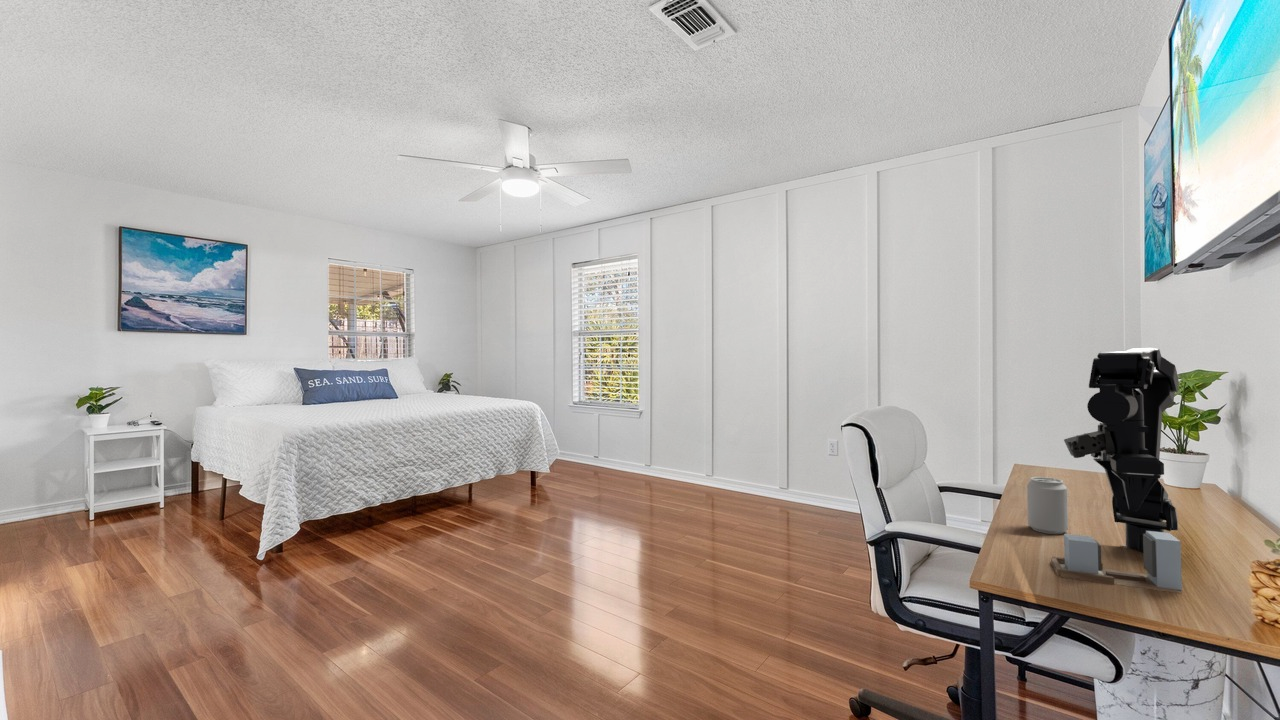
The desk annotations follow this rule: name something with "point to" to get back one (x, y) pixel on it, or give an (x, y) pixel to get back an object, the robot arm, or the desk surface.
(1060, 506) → the can
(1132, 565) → the desk surface
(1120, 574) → the rail
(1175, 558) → the block
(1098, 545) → the finger block
